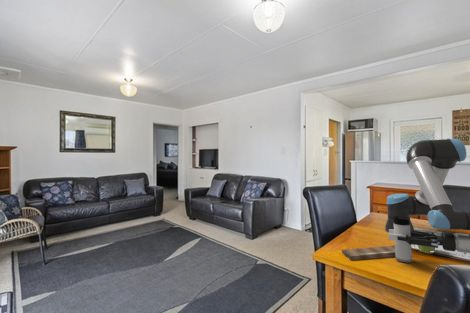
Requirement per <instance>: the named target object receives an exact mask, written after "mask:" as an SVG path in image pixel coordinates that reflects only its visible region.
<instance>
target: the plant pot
mask: <svg viewBox="0 0 470 313" xmlns="http://www.w3.org/2000/svg"><path fill="white" fill-rule="evenodd" d="M422 232H426V231H424V230H422ZM435 234H436V233H435ZM436 235H438V234H436ZM417 248H419V249H421V250H419V249H418V251H419V252H422V253H425V254H433V253H430V251H436V248H435V247H429V246H420V245H417Z"/></svg>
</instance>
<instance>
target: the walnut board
mask: <svg viewBox="0 0 470 313" xmlns="http://www.w3.org/2000/svg"><path fill="white" fill-rule="evenodd" d="M342 253H343V254H344V255H345V257H346V258H347V259H348V258H349V259H348V260H350V261H359V260H360V261H361V260H362V261H363V260H371V259H386V258H394V257H395V258H396V254H395V245H386V246H385V245H383V246H373V247H371V246H370V247H360V248H345V249H341V254H342ZM343 254H342V255H343ZM344 255H343V256H344Z"/></svg>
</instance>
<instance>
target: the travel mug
mask: <svg viewBox="0 0 470 313" xmlns="http://www.w3.org/2000/svg"><path fill="white" fill-rule="evenodd" d="M393 220H394V234H399V235H408V236H411V231H410V221H411V218H410V219H409V218H408V219H407V218H405V217H400V216H393ZM394 246H395V254H396V257H395V259H396V261H399V262H401V263H411V262H413V248H412V244H408V243H407V242H403V241H396V240H394Z"/></svg>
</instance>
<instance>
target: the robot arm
mask: <svg viewBox="0 0 470 313" xmlns="http://www.w3.org/2000/svg"><path fill="white" fill-rule="evenodd" d="M406 152H407V153H406V158H405V160H406V163H407V166H408V167H409V168H410V169H411V170H413V173H414V175H415V177H416V179H417V182H418V184H419V187H420V189H419V190H417V191H416V192H415V194H414V195H410V194H408V193H392V194H390V195H388V196H387V197H386V210H387V220H386V222H385V226H384V229H385V231H386V232H387V234H388V240H390V241H395V240H396V241H403V242H407V243H408V244H411V246H413V245H414V246H418V245H420V246H429V247H435V249H438V248H439V246H441V247H442V249H443V250H444V251H447V252H448V251H449V252H458V253H463V254H464V255H467V254H470V234H468V233H462V232H461V233H460V232H459V233H458V232H455V233H453V232H449V231H448V232H447V230H458V231H462V230H463V231H470V210H456V209H455V207H454V205H453V204H452V202H451V200H450V199H449V196H448V195H447V192H446V190H445V189H444V186H443V185H444V183H445V181H446V178H447V176H448V173H449V171H450V170H451V169H453V168H455V166H456V165H457V163H461V162H464V161H465V160H466V158H467V147H466V146H465V144H464V143H463V141H462V140H461V139H459V138H444V139H425V140H420V141H419V140H418V141H417V142H415V143H413V144H412V145H411V146H410V147H409V148H408V150H407V151H406ZM393 216H400V217H405V218H407V219H408V218H409V219H410V231H411V236H408V235H399V234H394V220H393ZM411 216H424V217H425V216H427V217H426V218H427V221H428V224H429V226H430V227H432V228H433V229H436V230H437V229H438V230H444V231H442V232H441V233H440V234H441V235H438V234H437V235H436V233H435V232H431V231H430V232H429V231H425V232H422V231H423V230H422V231H421V230H415V228H414V225H413V223H412V220H411Z"/></svg>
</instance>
